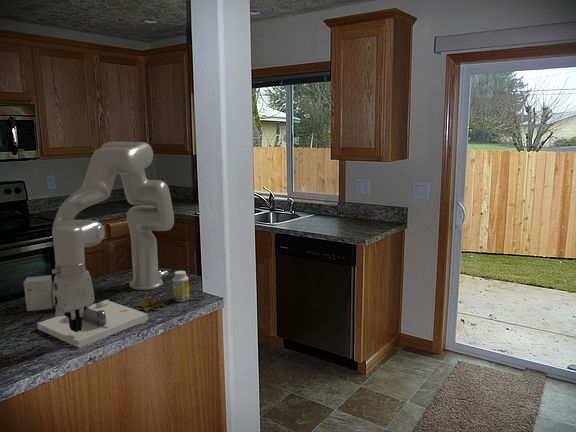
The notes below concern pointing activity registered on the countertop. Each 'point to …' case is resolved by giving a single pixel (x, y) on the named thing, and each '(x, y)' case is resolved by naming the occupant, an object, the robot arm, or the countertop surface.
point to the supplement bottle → (180, 286)
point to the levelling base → (115, 322)
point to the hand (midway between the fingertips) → (76, 330)
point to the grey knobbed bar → (95, 316)
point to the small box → (39, 293)
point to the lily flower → (149, 304)
